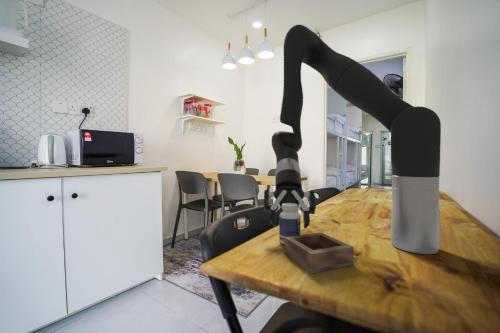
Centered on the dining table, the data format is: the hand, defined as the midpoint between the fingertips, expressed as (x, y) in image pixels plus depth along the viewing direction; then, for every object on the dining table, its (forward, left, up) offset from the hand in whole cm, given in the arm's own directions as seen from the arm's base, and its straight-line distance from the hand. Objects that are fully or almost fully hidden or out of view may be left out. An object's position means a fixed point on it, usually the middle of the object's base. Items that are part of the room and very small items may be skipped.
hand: (290, 225), depth 57 cm
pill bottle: (-1, -1, -5) cm, 5 cm away
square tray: (-1, +10, -4) cm, 11 cm away
